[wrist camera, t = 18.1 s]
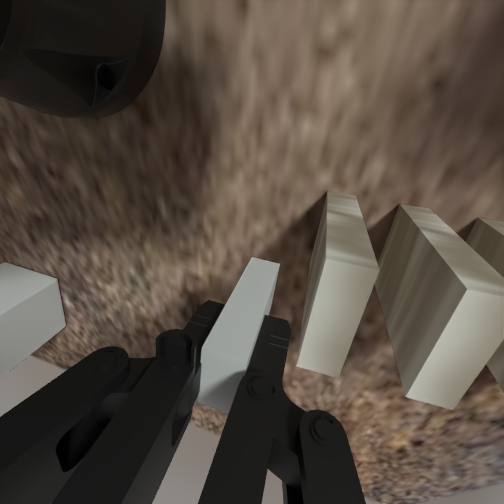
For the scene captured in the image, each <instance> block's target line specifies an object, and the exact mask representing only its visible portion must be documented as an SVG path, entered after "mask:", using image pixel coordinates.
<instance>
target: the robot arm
mask: <svg viewBox="0 0 504 504" xmlns="http://www.w3.org/2000/svg"><path fill="white" fill-rule="evenodd" d="M165 12H166V0H0V96H1V97H4V98H6V99H9V100H12V101H14V102H17V103H19V104H22V105H25V106H27V107H30V108H33V109H35V110H38V111H41V112H43V113H47V114H50V115H55V116H60V117H67V118H95V117H102V116H107V115H110V114H113V113H115V112H117V111H119V110H121V109H123V108H124V107H126V106H127V105H128V104H129V103H131V102H132V101H133V100H134V99H135V98H136V97H137V96H138V95H139V93H140V92H141V91H142V89H143V88H144V87H145V85H146V84H147V82H148V80H149V78H150V76H151V74H152V72H153V70H154V68H155V65H156V62H157V59H158V56H159V53H160V49H161V45H162V40H163V34H164V26H165ZM279 267H280V264H279V263H274V262H270V261H266V260H262V259H258V258H254V257H252V258H251V260H250V261H249V263H248V265H247V267H246V269H245V270H244V272H243V274H242V276H241V278H240V280H239V281H238V283H237V285H236V287H235V289H234V290H233V292H232V294H231V296H230V298H229V299H228V301H227V303H226V305H225V304H221V303H218V302H214V301H210V300H208V301H207V302H205V303H204V304H202V305H200V306H199V308H198V309H197V311H196V312H195V314H194V315H193V317H192V318H191V319H190V322H188V324H187V325H186V327H185V328H184V330H180V329H174V330H168V331H166V332H163V333H161V334H160V335H159V336H158V337H157V338H156V357H153V358H129V357H128V353H127V352H126V351H125V350H124V349H122V348H119V347H105V348H101V349H98V350H96V351H95V352H93V353H91V354H90V355H88V356H87V357H85V358H84V359H82V360H81V361H80V362H78V363H77V364H75V365H74V366H72V367H71V368H70V369H68V370H67V371H65V372H64V373H62V374H61V375H60V376H58V377H57V378H55V379H54V380H52V381H51V382H50V383H48V384H47V385H45V386H44V387H42V388H41V389H40V390H39V391H37V392H35V393H34V394H32V395H31V396H30V397H28V398H27V399H25V400H24V401H22V402H21V403H19V404H18V405H17V406H15V407H14V408H12V409H11V410H9V411H8V412H7V413H5V414H4V415H2V416H1V417H0V504H50V503H51V502H52V503H51V504H152V502H153V500H154V498H155V495H156V493H157V491H158V489H159V487H160V485H161V483H162V480H163V478H164V476H165V474H166V472H167V469H168V467H169V465H170V463H171V461H172V458H173V456H174V454H175V452H176V450H177V447H178V445H179V443H180V441H181V439H182V436H183V434H184V432H185V430H186V428H187V426H188V423H189V421H190V419H191V415H192V409H193V405H194V403H195V400H196V398H197V396H198V403H199V404H202V405H205V406H208V407H211V408H214V409H217V410H220V411H223V412H226V413H229V414H228V417H227V420H226V423H225V426H224V429H223V432H222V435H221V438H220V441H219V444H218V447H217V449H216V453H215V455H214V458H213V462H212V464H211V467H210V470H209V473H208V476H207V479H206V482H205V484H204V488H203V490H202V493H201V496H200V499H199V502H198V504H261V503H262V497H263V491H264V486H265V480H266V474H267V469H269V470H270V471H271V472H272V473H274V474H275V475H276V476H277V477H279V478H280V479H281V480H282V487H283V500H284V504H366V503H365V499H364V495H363V492H362V488H361V485H360V481H359V478H358V474H357V470H356V467H355V463H354V460H353V456H352V453H351V449H350V446H349V442H348V438H347V435H346V433H345V430H344V428H343V426H342V425H341V423H340V422H339V421H338V420H337V419H336V418H335V417H334V416H332V415H331V414H329V413H328V412H325V411H322V410H310V411H309V412H306V411H304V410H303V409H301V408H300V407H298V406H297V405H295V404H294V403H293V402H292V401H291V400H290V399H289V398H288V397H287V395H286V393H285V391H284V389H283V385H282V378H283V373H284V367H285V362H286V356H287V350H288V345H289V339H290V334H291V329H290V326H289V323H288V321H287V320H283V319H280V318H276V317H272V316H268V315H269V312H270V308H271V305H272V300H273V295H274V291H275V286H276V281H277V276H278V272H279Z"/></svg>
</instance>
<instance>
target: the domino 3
mask: <svg viewBox="0 0 504 504" xmlns="http://www.w3.org/2000/svg"><path fill="white" fill-rule="evenodd" d="M465 242H466V243H467V244H468V245H469V246H470V247H471V248H472V249H473V250H474V251H476V252H477V253H478V254H479V255H480V256H481V257H482V258H483V259H484V260H485V261H486V262H487V263H488V264H489V265H490V266H492V267H493V268H494V269H495V270H496V271H497V272H498V273H499V274H500V275H501V276H502V277H503V278H504V222H501V221H495V220H489V219H484V218H477V220H476V222H475V224H474V226H473V228H472V230H471V232H470V234H469V235H468V237H467V239H466V241H465ZM486 365H487V366H488V368H489V370H490V371H491V373H492V374H493V376H494V378H495V379H496V381H497V382H498V384H499V386H500V387H501V389H502V390H503V392H504V340H503V341H502V342H501V344H500V345H499V347H498V348H497V349H496V351H495V352H494V354H493V355H492V356H491V358H490V359H489V360H488V362H487V363H486Z"/></svg>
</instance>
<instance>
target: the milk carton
mask: <svg viewBox="0 0 504 504" xmlns="http://www.w3.org/2000/svg"><path fill="white" fill-rule="evenodd" d="M65 326H66V322H65V317H64V311H63V306H62V301H61V295H60V290H59V285H58V280H57V279H56V278H53V277H50V276H47V275H44V274H41V273H38V272H34V271H31V270H28V269H25V268H22V267H19V266H16V265H13V264H9V263H2V264H0V379H1V378H2V377H3V376H5V375H6V374H7V373H8V372H10V371H11V370H12V369H13V368H15V367H16V366H17V365H18V364H19V363H21V362H22V361H23V360H25V359H26V358H27V357H28V356H29V355H31V354H32V353H33V352H34V351H36V350H37V349H38V348H39V347H41V346H42V345H43V344H44V343H46V342H47V341H48V340H49V339H51V338H52V337H53V336H54V335H56V334H57V333H58V332H59V331H61V330H62V329H63V328H64V327H65Z"/></svg>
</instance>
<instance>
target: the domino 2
mask: <svg viewBox="0 0 504 504" xmlns="http://www.w3.org/2000/svg"><path fill="white" fill-rule="evenodd" d="M377 264H378V267H379V270H380V271H379V273H378V276H377V279H376V281H375V287H376V290H377V294H378V298H379V301H380V305H381V309H382V312H383V316H384V320H385V323H386V327H387V331H388V334H389V338H390V342H391V345H392V349H393V353H394V356H395V360H396V364H397V367H398V371H399V375H400V378H401V382H402V386H403V390H404V393H405V397H408V398H411V399H415V400H419V401H422V402H426V403H429V404H433V405H437V406H440V407H444V408H447V409H451V410H453V409H454V408H455V406H456V405H457V403H458V402H459V401H460V399H461V398H462V397H463V395H464V394H465V392H466V391H467V390H468V388H469V387H470V385H471V384H472V383H473V381H474V380H475V379H476V377H477V376H478V374H479V373H480V372H481V370H482V369H483V367H484V366H485V365H486V363H487V362H488V360H489V359H490V358H491V356H492V355H493V354H494V352H495V351H496V349H497V348H498V347H499V345H500V344H501V342H502V341H503V340H504V278H503V277H502V276H501V275H500V274H499V273H498V272H497V271H496V270H495V269H494V268H493V267H492V266H490V265H489V264H488V263H487V262H486V261H485V260H484V259H483V258H482V257H481V256H480V255H479V254H478V253H477V252H476V251H474V250H473V249H472V248H471V247H470V246H469V245H468V244H467V243H466V242H465V241H464V240H463V239H462V238H461V237H459V236H458V235H457V234H456V233H455V232H454V231H453V230H452V229H451V228H450V227H449V226H448V225H447V224H446V223H444V222H443V221H442V220H441V219H440V218H439V217H438V216H437V215H436V214H435V213H434V212H433V211H432V210H431V209H427V208H421V207H415V206H410V205H404V204H399V207H398V209H397V212H396V215H395V217H394V220H393V223H392V225H391V228H390V231H389V233H388V236H387V239H386V241H385V244H384V247H383V249H382V252H381V255H380V257H379V260H378V263H377Z"/></svg>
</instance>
